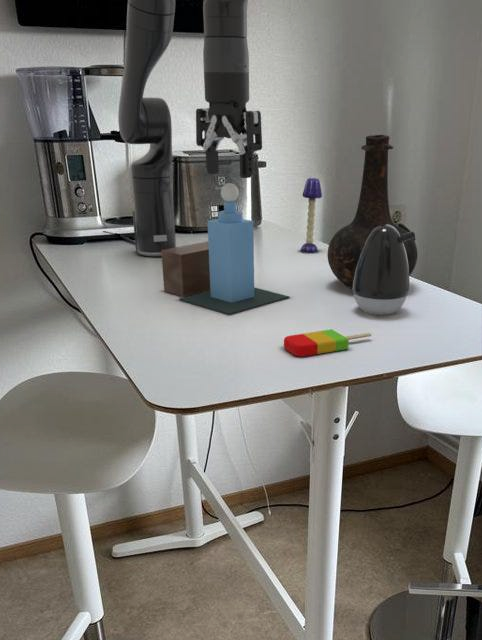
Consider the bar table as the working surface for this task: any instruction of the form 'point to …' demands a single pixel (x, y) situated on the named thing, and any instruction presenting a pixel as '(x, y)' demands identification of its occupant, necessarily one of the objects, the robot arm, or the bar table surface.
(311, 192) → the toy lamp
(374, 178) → the glass bottle
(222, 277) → the bottle
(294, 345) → the popsicle
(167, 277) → the block
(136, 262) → the bar table surface
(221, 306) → the mat
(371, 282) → the pump dispenser
